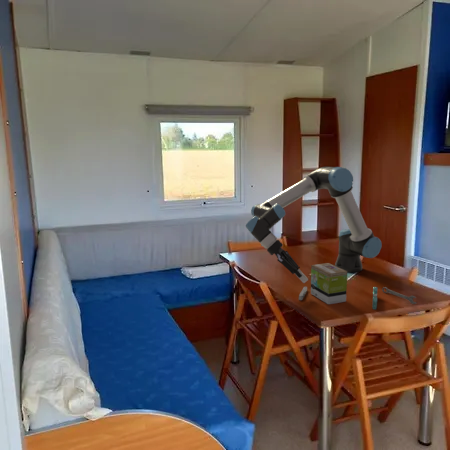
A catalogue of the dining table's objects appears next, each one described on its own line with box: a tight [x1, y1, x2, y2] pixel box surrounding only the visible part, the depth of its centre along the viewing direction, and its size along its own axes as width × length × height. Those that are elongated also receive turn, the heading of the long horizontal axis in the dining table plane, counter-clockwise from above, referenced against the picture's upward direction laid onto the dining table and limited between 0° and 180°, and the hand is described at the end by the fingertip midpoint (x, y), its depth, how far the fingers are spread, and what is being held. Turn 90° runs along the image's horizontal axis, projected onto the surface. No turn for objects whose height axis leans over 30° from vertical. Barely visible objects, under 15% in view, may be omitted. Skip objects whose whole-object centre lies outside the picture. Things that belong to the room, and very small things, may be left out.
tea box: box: [310, 262, 348, 305], centre depth 193 cm, size 15×10×15 cm
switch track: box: [298, 286, 379, 310], centre depth 193 cm, size 16×34×5 cm, turn 70°
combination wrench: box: [382, 286, 418, 305], centre depth 193 cm, size 4×1×20 cm
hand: (306, 281), depth 197 cm, fingers closed
